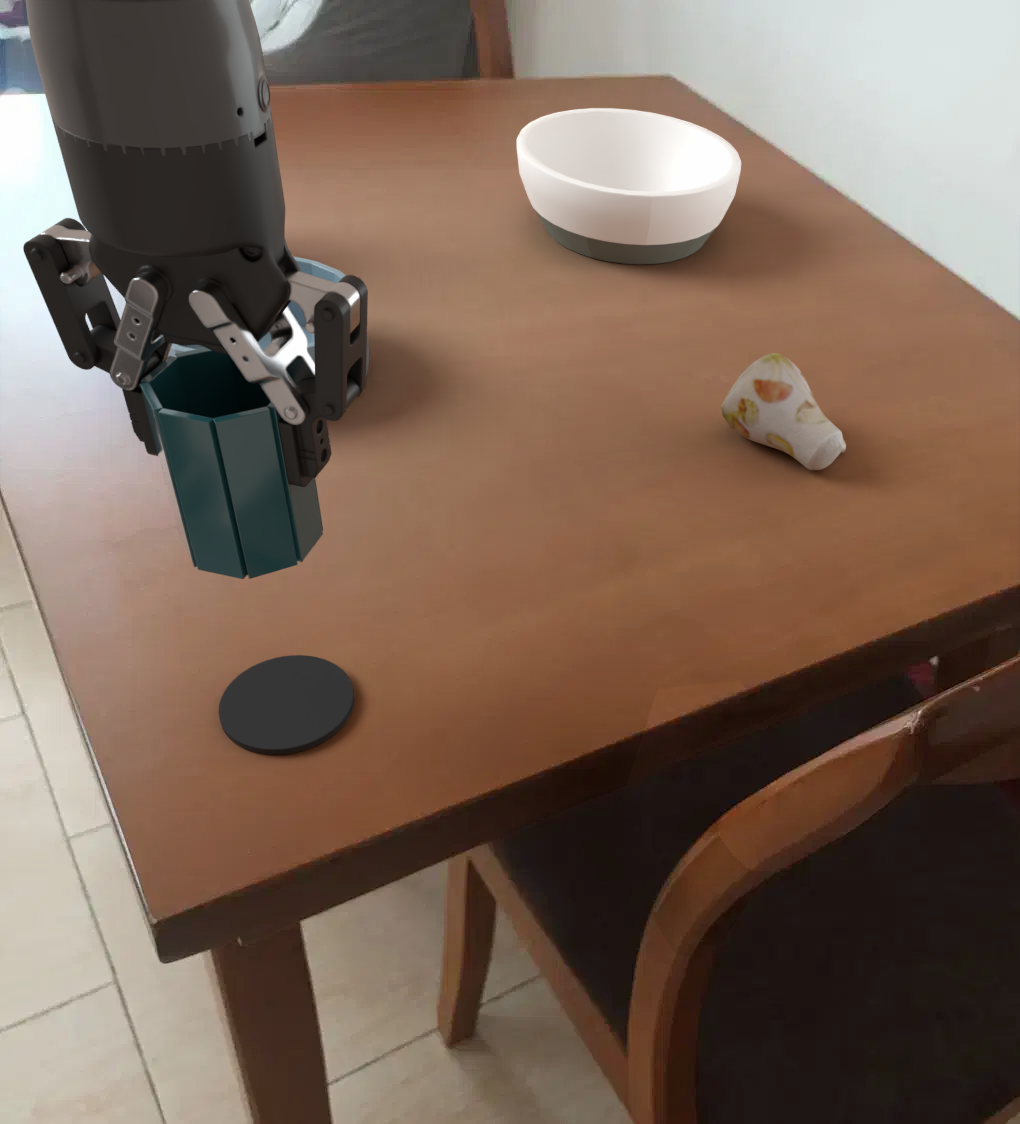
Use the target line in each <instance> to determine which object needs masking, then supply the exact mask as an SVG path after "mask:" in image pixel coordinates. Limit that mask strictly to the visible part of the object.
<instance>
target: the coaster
mask: <svg viewBox="0 0 1020 1124" xmlns="http://www.w3.org/2000/svg"><path fill="white" fill-rule="evenodd" d="M354 706H355V690H354V686H353V682H352V680H351V679H350V677H349V675H348V674H347V672H346V671H344V669H342V668H341V667H339V665H337V664H335V663H334V662H332V661H329V660H328V659H325V658H321V657H317V656H313V655H306V654H305V655H302V654H294V655H293V654H292V655H291V654H290V655H283V656H279V657H278V656H277V657H274V658H270V659H266V660H264V661H261V662H259V663H257V664H254V665H251V667H249V668H247V669H246V670H244V671H242V672H240V674H238V675H237V676H236V677H235V678H234V679H233V680H232V681H230V683H229V684H228V686H226V688H225V690H224V691H223V693H222V696H221V697H220V700H219V704H218V717H219V723H220V725H221V726H220V727H221V728H222V731H223V732H224V734H225V735H226V736H227V738H228V739H229V740H230V741H231V742H233V743H234V744H235V745H237V746H238V747H240V748H242V749H244V750H246V751H249V752H252V753H256V754H260V755H261V754H262V755H272V756H278V755H279V756H282V755H290V754H296V753H300V752H303V751H304V752H305V751H306V750H309V749H313V748H314V747H317V746H319V745H321V744H322V743H325V742H326V741H328V740H329V739H331V738H332V737H333V736H335V735H336V734H337V733H339V731H340V730H341V729H342V728H343V727H344V726H345V725H346V724H347V722H348V720H349V719H350V717H351V715H352V713H353V710H354Z"/></svg>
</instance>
